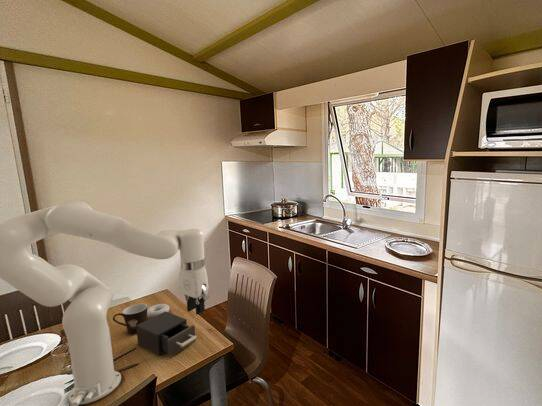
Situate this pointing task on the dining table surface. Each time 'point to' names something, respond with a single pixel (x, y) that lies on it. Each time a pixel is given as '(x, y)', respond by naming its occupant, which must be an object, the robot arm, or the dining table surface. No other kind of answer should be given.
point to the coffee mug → (133, 317)
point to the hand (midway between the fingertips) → (196, 310)
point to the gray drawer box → (156, 330)
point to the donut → (157, 310)
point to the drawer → (177, 339)
